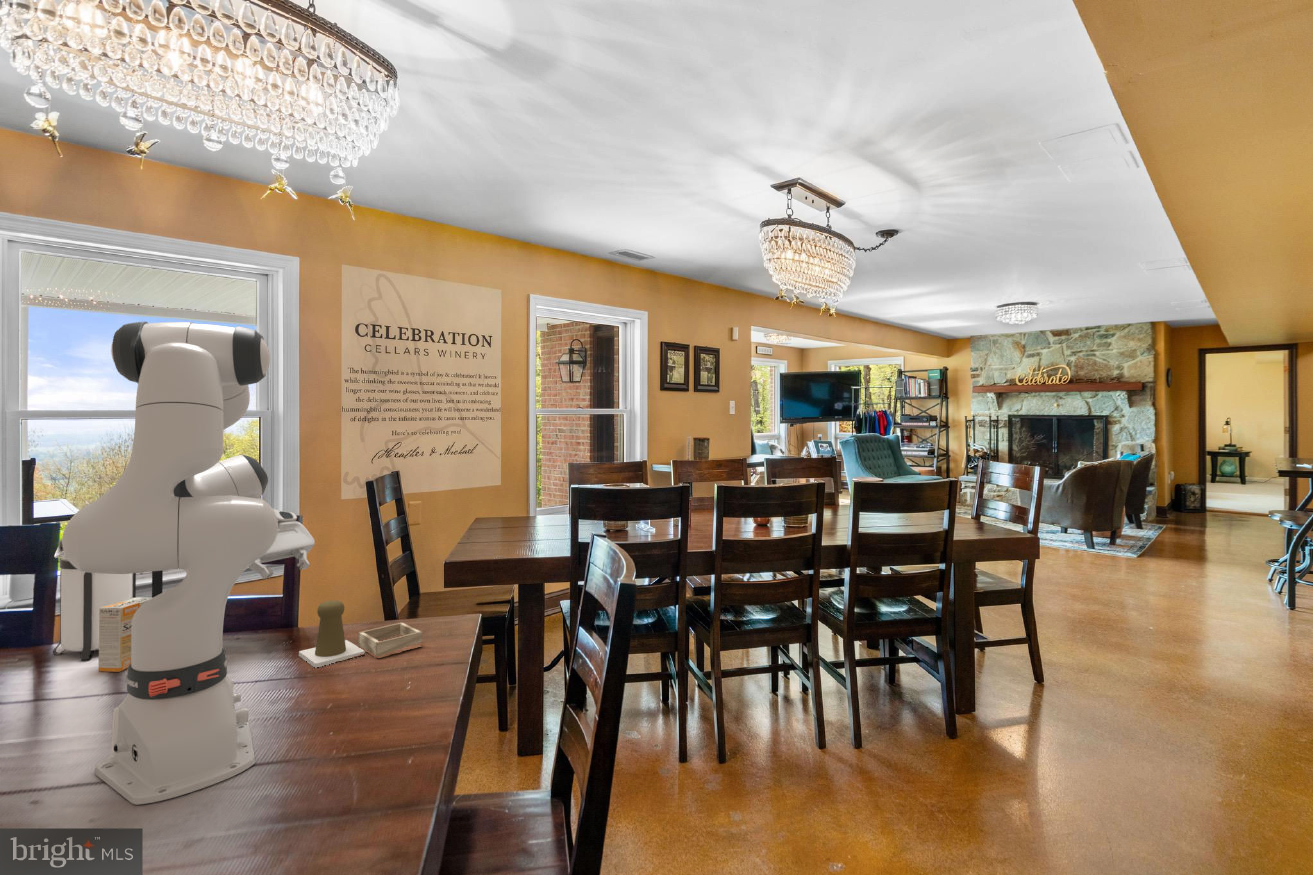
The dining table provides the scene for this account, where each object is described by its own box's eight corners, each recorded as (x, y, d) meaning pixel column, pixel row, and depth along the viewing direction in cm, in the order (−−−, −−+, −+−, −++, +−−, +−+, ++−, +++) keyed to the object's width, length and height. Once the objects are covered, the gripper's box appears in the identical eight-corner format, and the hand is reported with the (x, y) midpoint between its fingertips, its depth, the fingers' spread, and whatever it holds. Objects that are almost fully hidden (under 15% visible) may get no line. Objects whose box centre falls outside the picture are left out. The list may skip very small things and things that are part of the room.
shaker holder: (421, 647, 138) (422, 631, 138) (377, 659, 131) (377, 643, 131) (401, 636, 145) (401, 622, 145) (358, 647, 138) (358, 632, 138)
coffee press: (131, 656, 130) (132, 518, 130) (34, 666, 124) (35, 521, 124) (163, 631, 146) (164, 508, 146) (78, 639, 140) (79, 510, 140)
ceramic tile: (364, 655, 133) (364, 650, 133) (315, 668, 125) (315, 663, 125) (346, 644, 140) (346, 639, 140) (298, 655, 132) (298, 651, 132)
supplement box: (120, 672, 122) (121, 607, 122) (97, 672, 122) (97, 607, 122) (155, 657, 130) (155, 596, 130) (133, 656, 130) (133, 596, 130)
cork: (352, 647, 135) (352, 598, 135) (334, 657, 129) (335, 606, 129) (326, 646, 135) (327, 597, 135) (308, 655, 129) (308, 604, 129)
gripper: (217, 522, 128) (252, 571, 125) (300, 512, 147) (332, 554, 144) (201, 542, 129) (236, 591, 126) (285, 529, 149) (317, 571, 146)
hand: (287, 571), depth 135 cm, fingers open, 8 cm apart
